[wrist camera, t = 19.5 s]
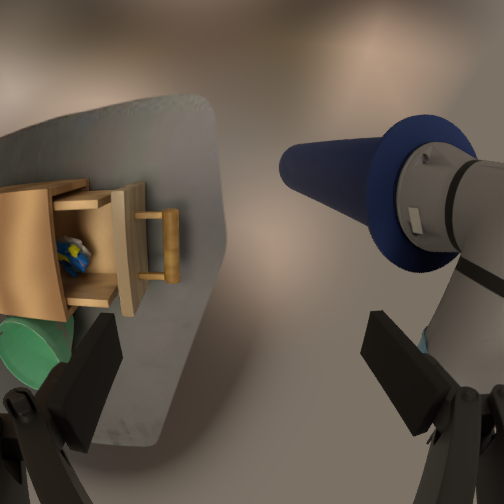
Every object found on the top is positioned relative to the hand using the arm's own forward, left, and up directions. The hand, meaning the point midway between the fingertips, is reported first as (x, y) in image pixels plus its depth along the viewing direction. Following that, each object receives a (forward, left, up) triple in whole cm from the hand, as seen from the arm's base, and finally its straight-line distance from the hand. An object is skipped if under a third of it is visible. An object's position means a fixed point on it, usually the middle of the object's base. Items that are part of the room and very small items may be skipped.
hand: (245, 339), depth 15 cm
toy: (+14, +1, -16) cm, 21 cm away
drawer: (+13, 0, -19) cm, 23 cm away
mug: (+23, +14, -20) cm, 34 cm away
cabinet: (+23, 0, -20) cm, 30 cm away
